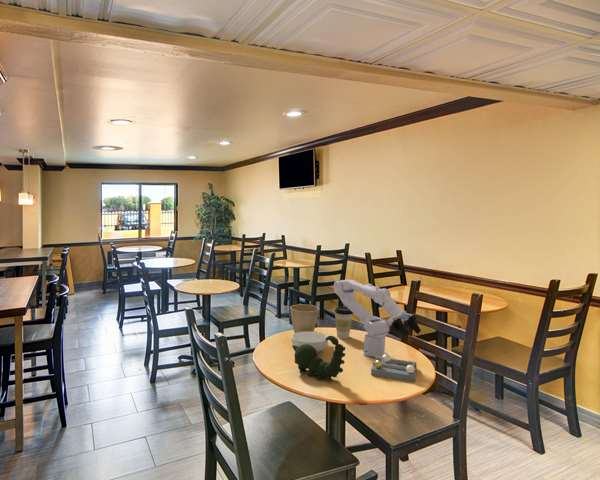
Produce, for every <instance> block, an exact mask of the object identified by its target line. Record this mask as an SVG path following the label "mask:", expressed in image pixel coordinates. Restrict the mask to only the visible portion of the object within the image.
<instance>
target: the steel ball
mask: <svg viewBox="0 0 600 480" xmlns="http://www.w3.org/2000/svg"><path fill="white" fill-rule="evenodd" d="M391 359H392V357H391V356H390V355H389V354H388V353H386V354H384V355H383V356H382V358H381V360H382V362H383V363H385V364H389V363H390V362H391Z"/></svg>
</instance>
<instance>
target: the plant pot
mask: <svg viewBox="0 0 600 480" xmlns="http://www.w3.org/2000/svg"><path fill="white" fill-rule="evenodd" d="M289 308H290V319H291V324H292V328H293V331H294V334H295V333H298V332H307V331H310V332H315V328H316V325H317V322H318V317H319V314H320V313H319V312H320V307H318V306H316V305H313V304H301V303H299V304H293V305H291V306H290V307H289Z"/></svg>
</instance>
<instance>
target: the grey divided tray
mask: <svg viewBox="0 0 600 480" xmlns="http://www.w3.org/2000/svg"><path fill="white" fill-rule="evenodd" d="M381 358H382V357H377V356H375V357H374V361H373V362H372V366H371V368H370V375H371V376H374V377H381V378H386V379H392V380H398V381H405V382H412V383H415V382H416V373H417V361H410V360H403V359H402V360H401V359H394V358H391V362H390V363H389V364H385V363H383V362H382V360H381ZM376 360H380V361H381V362H382V367H381V368H376V367H375V365H374V363H375V361H376ZM408 365H412V366H413V367H414V372H413V373H408V372H407V371H406V367H407V366H408Z"/></svg>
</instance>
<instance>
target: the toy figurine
mask: <svg viewBox="0 0 600 480" xmlns="http://www.w3.org/2000/svg"><path fill="white" fill-rule="evenodd" d="M327 336H328V337H326V339H325V340H328V341H330V342H331V344H332V345H333V346H334V350H333V352H332V357H331V359H330V361H329V362H327V361H325V360H324V359H323V358H322V357H321V356H319V354H318V353H319V352H317V351H316V349H315V348H314V347H313V346H311V345H309V344H303V345H301V346H295V345H293V344H292V347H291V348H292V349H293V350H294V364H296V365H297V368H298V370H300V372H305V371H306V370H307V369H308V370H307V375H308V376H310V377H312V376H313V375H314V374H316V375H317V376H316V379H317V380H318V381H320V380H322V379H324V378H326V380H327V381H329V382H330V381H331V380H332V378H335V379H336V378H337V377H338V375H339V374H340V373H343V371H344V369H343V367H341V365H344V364H345V360H344V359H343V357H345V356H346V353H345V352H344V351H346V347H345V346H343V344H341V343H339V340H338V339H339V338H338V337H337V336H336V337H335V336H333V335H327Z"/></svg>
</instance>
